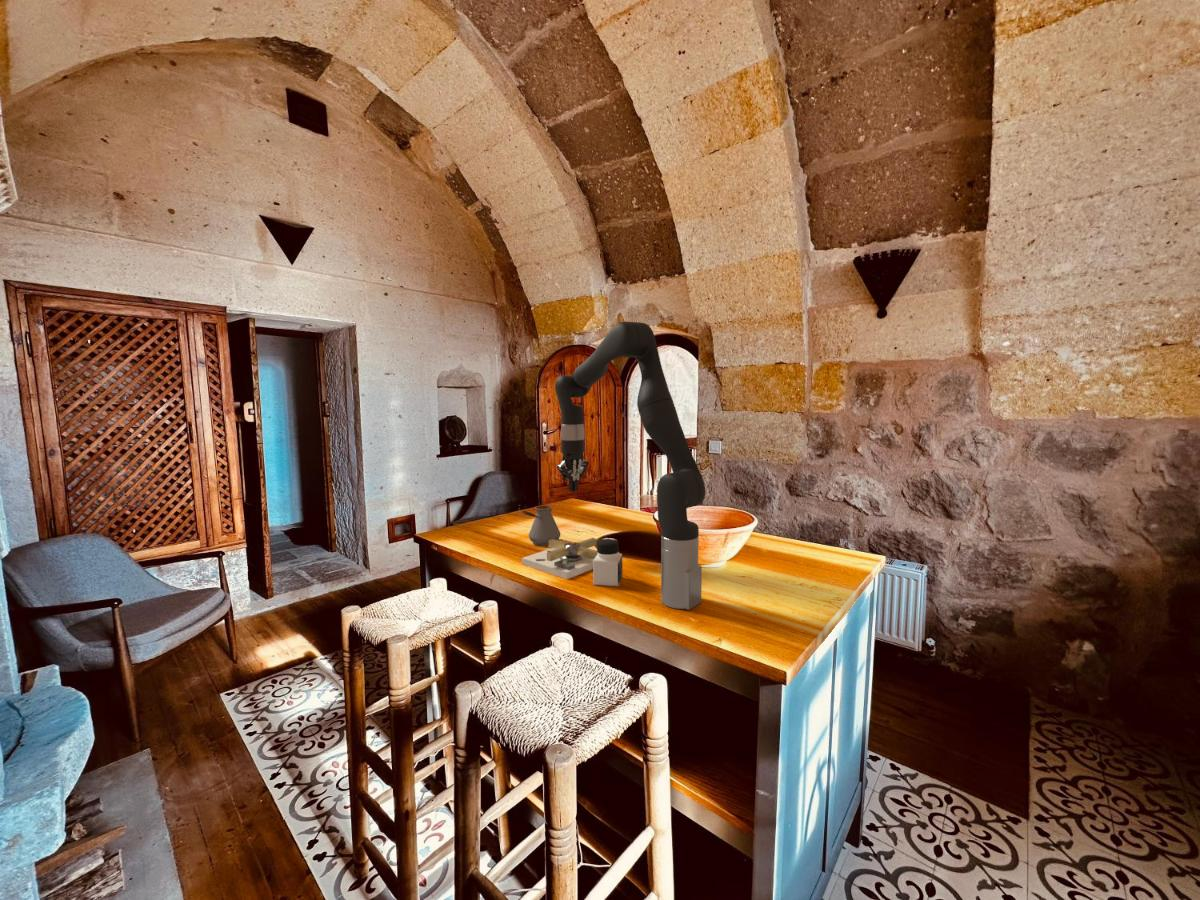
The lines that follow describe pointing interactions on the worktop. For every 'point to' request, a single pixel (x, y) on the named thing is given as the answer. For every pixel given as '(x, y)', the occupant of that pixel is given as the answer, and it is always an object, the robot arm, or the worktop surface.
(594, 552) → the cam capstan
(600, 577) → the medicine bottle
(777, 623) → the worktop surface
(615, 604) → the worktop surface
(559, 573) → the board
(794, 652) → the worktop surface
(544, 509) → the coffee pot
